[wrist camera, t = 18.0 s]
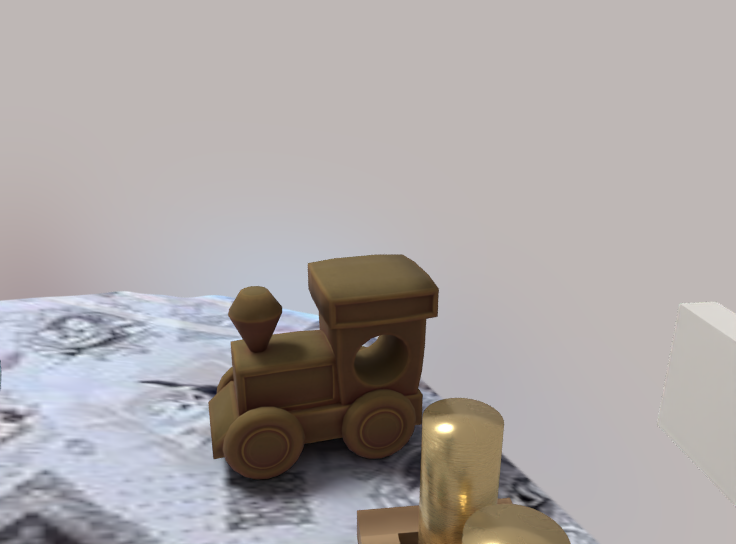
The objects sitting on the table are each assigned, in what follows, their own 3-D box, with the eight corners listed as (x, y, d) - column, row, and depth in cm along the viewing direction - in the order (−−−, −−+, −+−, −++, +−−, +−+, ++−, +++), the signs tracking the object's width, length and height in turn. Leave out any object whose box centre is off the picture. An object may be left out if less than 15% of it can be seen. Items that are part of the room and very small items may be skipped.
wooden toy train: (398, 393, 68) (401, 248, 63) (437, 455, 58) (445, 289, 52) (210, 421, 63) (194, 266, 58) (217, 495, 53) (198, 316, 47)
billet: (402, 599, 43) (407, 425, 38) (437, 554, 47) (446, 390, 42) (469, 636, 40) (483, 453, 36) (500, 584, 44) (516, 413, 39)
